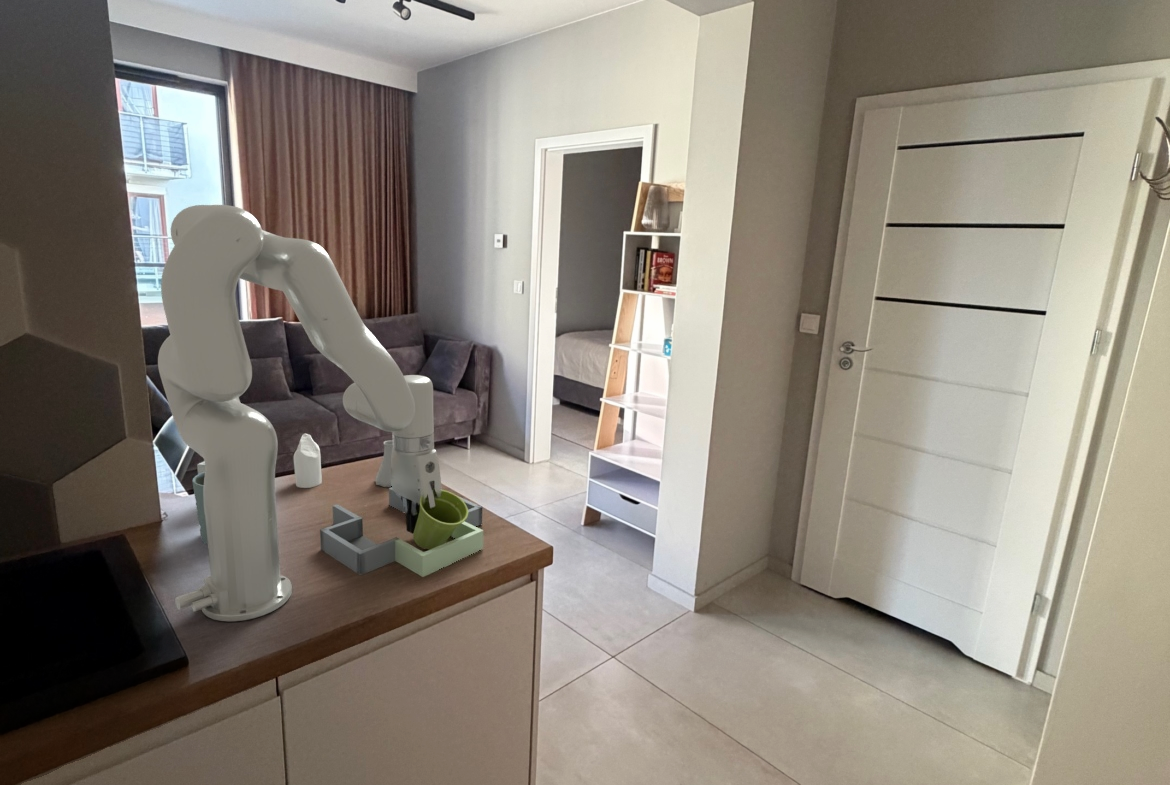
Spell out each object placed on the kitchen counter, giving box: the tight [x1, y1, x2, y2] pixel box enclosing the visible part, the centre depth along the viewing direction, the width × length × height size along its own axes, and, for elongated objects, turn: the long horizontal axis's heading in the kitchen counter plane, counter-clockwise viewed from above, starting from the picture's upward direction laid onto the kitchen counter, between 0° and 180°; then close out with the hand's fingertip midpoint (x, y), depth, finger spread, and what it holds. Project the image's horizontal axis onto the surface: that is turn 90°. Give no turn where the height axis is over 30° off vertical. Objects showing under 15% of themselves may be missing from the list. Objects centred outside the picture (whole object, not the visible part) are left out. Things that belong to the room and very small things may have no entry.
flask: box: [374, 440, 393, 488], centre depth 146 cm, size 7×7×10 cm
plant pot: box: [412, 489, 468, 550], centre depth 116 cm, size 9×9×9 cm
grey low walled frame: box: [319, 487, 484, 578], centre depth 120 cm, size 28×29×4 cm
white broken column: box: [293, 433, 323, 489], centre depth 142 cm, size 6×12×6 cm
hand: (415, 529), depth 120 cm, fingers closed
